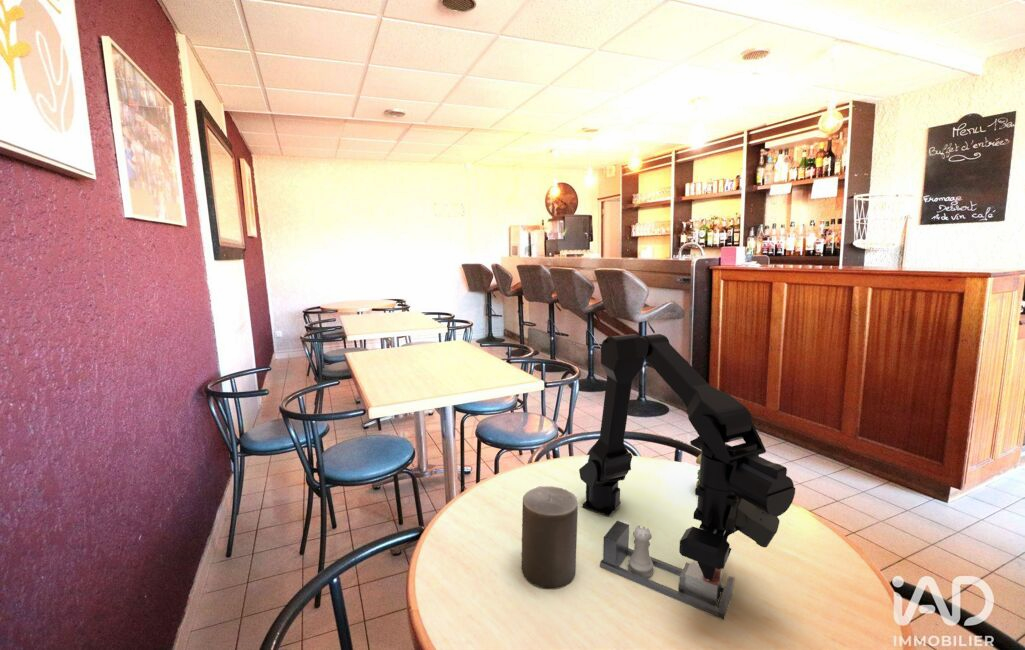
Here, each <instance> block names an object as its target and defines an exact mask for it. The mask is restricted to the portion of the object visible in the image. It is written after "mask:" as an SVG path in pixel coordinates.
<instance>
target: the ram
mask: <svg viewBox="0 0 1025 650" xmlns="http://www.w3.org/2000/svg"><path fill="white" fill-rule="evenodd" d="M682 569H683V570H682V572H681V574H680V576H679V577H678V578H679V579H678V591H679V592H681V593H683V594H686V595H688V596H691V597H693V598H695V599H698V600H700V601H703V602H705V603H707V604H710V605H712V606H715V607H717V606H718V603H719V602H720V598H721V595H722V593H721V586H722V584H723V573H722V569H716V570H715V573H714V576H713V579H712V580H708V579H706V578H705V577H704V575H703V573H702V571H701V569H700V567H699V564H698V563H695V562H692V561H690V562H685V563H684V567H683V568H682ZM717 608H718V607H717Z"/></svg>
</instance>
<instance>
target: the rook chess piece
mask: <svg viewBox="0 0 1025 650" xmlns="http://www.w3.org/2000/svg"><path fill="white" fill-rule="evenodd" d="M632 536H633V538H634V539H633V544H634V547H633V550H634V552H633V554H632V555H631V557H630V556H629V559H628V564H627V570H628V571H631V572H633V573H635V574H638V575H640V576H643V577H645V578H647V579H648V578H649V577H650V576H652V575H653V573H654V571H655V570H654V566H653V562H652V560H651V557H652V556H651V555H650V550H649V549H650V545H651V542H650V540H652V538H653V536H652V533H651V531H650V528H648V527H647V528H646V526H644V525H643V526H642V527H641V525H637V527H635V528H634V530H633V532H632Z"/></svg>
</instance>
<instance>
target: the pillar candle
mask: <svg viewBox="0 0 1025 650" xmlns="http://www.w3.org/2000/svg"><path fill="white" fill-rule="evenodd" d="M578 503H579V502H578V497H577V496H576V495H575V493H573V492H570V491H569V490H567V489H564V488H562V487H557V486H552V485H550V486H549V485H548V486H544V485H543V486H537V487H534V488H532V489H530V490H528V491H527V492H526V493H524V495H523V497H522V514H521V515H522V519H521V520H522V522H521V528H522V529H521V571H522V575H523V576H524V578H525V580H526V581H528V582H529V583H530V584H531V585H534V586H536V587H538V588H540V589H545V590H546V589H547V590H552V589H559V588H563V587H565V586H567V585H569V584H571V582H573V581H574V579H575V576H576V572H577V571H576V570H577V543H578V542H577V541H578V540H577V539H578V537H577V536H578V535H577V534H578Z"/></svg>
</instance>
